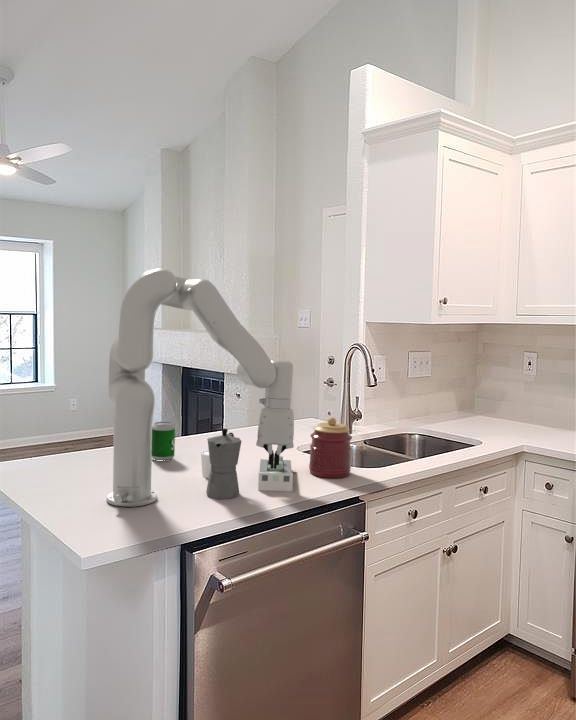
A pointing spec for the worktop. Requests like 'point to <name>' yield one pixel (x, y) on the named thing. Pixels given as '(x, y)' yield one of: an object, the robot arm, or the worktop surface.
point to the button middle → (278, 467)
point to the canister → (330, 450)
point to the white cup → (205, 464)
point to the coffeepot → (223, 466)
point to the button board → (275, 477)
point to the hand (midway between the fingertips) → (273, 467)
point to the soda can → (163, 441)
